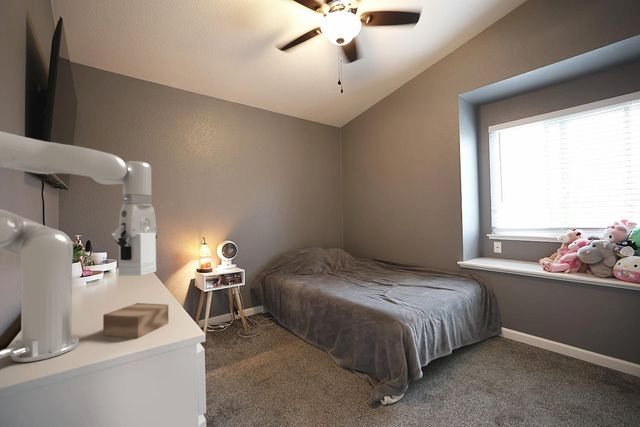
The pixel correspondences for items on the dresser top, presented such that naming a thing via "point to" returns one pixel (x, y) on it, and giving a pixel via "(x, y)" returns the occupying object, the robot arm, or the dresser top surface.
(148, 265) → the supplement box
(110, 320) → the walnut block
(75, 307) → the dresser top surface
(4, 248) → the robot arm
